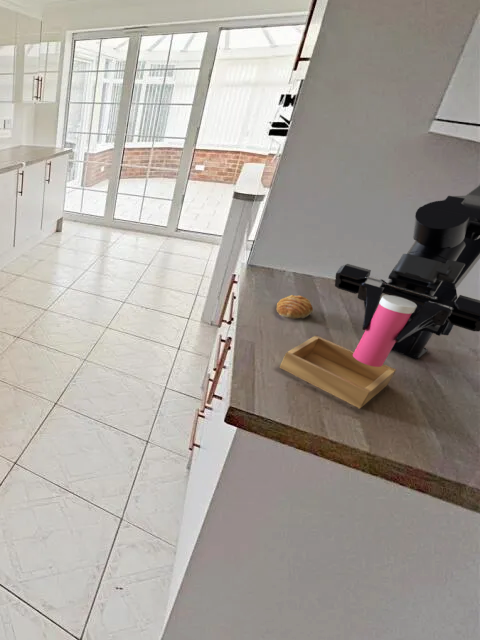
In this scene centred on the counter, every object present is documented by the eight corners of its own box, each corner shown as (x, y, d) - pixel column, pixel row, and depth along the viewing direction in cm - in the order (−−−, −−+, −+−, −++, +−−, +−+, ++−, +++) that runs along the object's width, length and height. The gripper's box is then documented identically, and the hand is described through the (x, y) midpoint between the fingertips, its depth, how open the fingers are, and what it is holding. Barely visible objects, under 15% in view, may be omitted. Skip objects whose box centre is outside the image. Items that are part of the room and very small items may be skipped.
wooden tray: (307, 352, 86) (315, 335, 84) (385, 388, 76) (396, 369, 74) (277, 370, 80) (285, 352, 78) (358, 412, 70) (369, 392, 68)
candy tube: (357, 350, 75) (387, 293, 70) (387, 362, 72) (421, 303, 67) (347, 356, 73) (378, 298, 68) (377, 370, 70) (411, 309, 65)
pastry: (300, 326, 95) (306, 311, 94) (267, 314, 100) (273, 300, 99) (312, 313, 101) (318, 300, 99) (280, 303, 106) (285, 289, 104)
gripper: (362, 221, 72) (314, 291, 71) (529, 256, 58) (473, 344, 57) (357, 253, 80) (314, 317, 79) (504, 291, 66) (454, 370, 65)
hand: (379, 334), depth 70 cm, fingers closed on candy tube, 4 cm apart
